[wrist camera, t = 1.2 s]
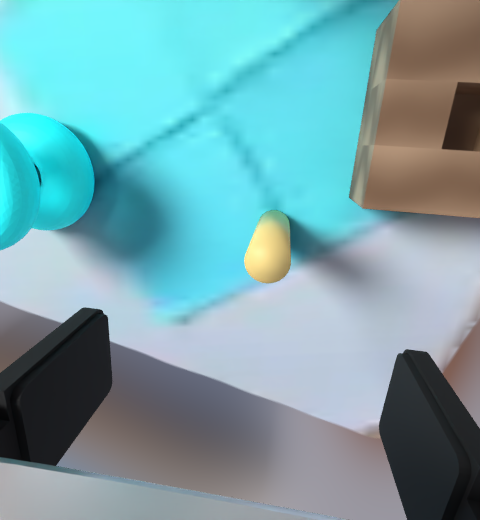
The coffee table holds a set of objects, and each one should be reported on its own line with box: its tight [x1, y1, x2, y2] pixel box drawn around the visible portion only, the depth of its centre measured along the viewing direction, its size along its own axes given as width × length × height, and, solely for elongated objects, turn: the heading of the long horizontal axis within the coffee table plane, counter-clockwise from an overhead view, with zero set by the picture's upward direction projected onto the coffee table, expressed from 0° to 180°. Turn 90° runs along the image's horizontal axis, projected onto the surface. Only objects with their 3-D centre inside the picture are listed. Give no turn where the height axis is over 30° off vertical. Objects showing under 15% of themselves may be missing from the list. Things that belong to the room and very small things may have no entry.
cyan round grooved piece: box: [0, 113, 95, 250], centre depth 26 cm, size 10×10×10 cm
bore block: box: [349, 0, 480, 218], centre depth 23 cm, size 12×12×6 cm
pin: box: [244, 210, 291, 283], centre depth 25 cm, size 3×3×10 cm
